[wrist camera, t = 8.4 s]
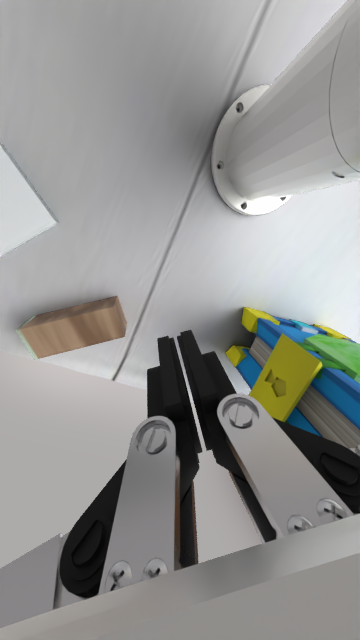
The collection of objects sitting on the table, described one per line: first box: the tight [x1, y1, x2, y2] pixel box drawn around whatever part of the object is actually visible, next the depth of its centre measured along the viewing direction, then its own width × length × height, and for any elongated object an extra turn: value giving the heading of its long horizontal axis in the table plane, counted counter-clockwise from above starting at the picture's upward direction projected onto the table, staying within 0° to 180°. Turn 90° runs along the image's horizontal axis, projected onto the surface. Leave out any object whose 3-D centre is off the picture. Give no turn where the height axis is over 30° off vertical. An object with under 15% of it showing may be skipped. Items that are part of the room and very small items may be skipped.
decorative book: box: [225, 307, 360, 448], centre depth 25 cm, size 14×23×30 cm, turn 73°
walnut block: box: [16, 296, 127, 360], centre depth 28 cm, size 4×4×12 cm
